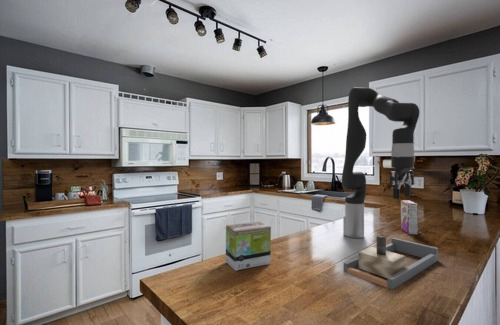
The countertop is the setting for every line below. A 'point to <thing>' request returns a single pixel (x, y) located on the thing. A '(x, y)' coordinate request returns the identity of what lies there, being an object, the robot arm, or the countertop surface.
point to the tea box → (248, 245)
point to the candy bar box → (409, 217)
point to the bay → (416, 249)
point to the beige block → (381, 260)
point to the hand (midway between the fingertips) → (401, 197)
